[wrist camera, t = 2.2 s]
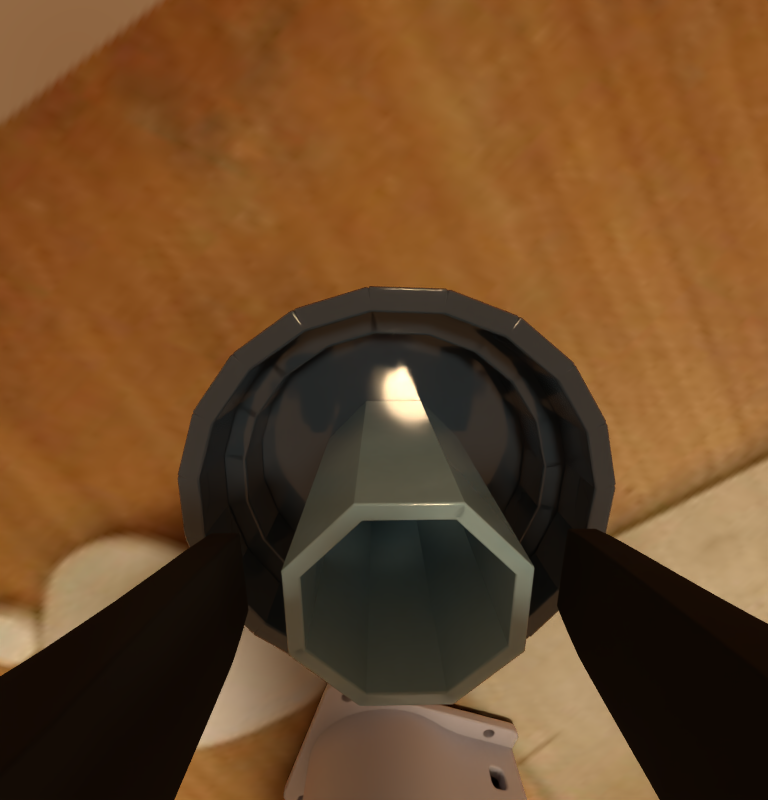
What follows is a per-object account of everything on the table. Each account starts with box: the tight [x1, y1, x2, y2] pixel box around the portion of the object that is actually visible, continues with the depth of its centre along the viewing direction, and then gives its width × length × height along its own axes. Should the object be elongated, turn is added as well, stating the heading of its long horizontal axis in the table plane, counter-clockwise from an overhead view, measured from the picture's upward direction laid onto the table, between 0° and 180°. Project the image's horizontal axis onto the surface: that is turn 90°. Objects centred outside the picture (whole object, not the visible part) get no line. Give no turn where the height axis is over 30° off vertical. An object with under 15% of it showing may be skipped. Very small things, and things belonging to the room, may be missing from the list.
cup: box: [281, 401, 534, 706], centre depth 10 cm, size 5×5×7 cm
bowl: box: [178, 286, 616, 653], centre depth 12 cm, size 12×12×4 cm
